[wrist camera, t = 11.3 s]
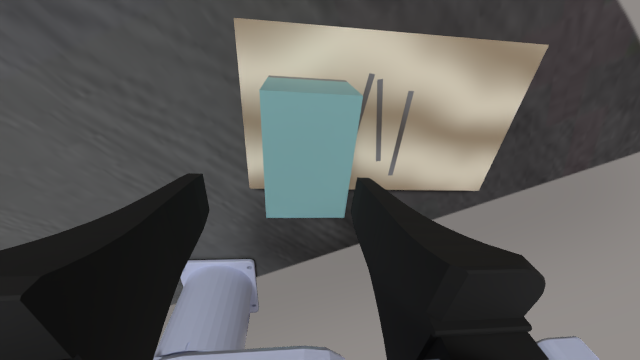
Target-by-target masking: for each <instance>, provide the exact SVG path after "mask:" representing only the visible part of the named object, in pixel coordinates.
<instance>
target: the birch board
mask: <svg viewBox="0 0 640 360" xmlns="http://www.w3.org/2000/svg"><path fill="white" fill-rule="evenodd" d="M234 26H235V36H236V47H237V58H238V69H239V79H240V90H241V101H242V111H243V122H244V133H245V144H246V154H247V165H248V176H249V187H250V188H254V189H265V185H264V166H263V148H262V129H261V111H260V92H259V90H260V88H261V87H262V85H263V84H264V82H265V81H266V79H267V77H268V76H269V75H270V76H286V77H302V78H318V79H334V80H346V81H347V82H348V83H349V84H350V85H351V86H353V87H354V88H355V89H356V90H357V91H358V92H359V93H360V94H362V95H363V100H362V106H361V113H360V119H359V125H358V132H357V138H356V145H355V151H354V158H353V164H352V170H351V177H350V183H349V189H355V186H356V180H357V177H359V178H370V179H372V180H373V181H375V182H376V183H377V184H379V185H380V186H381V187H383V188H384V189H385V190H464V191H479V189H480V187H481V185H482V183H483V181H484V178H485V176H486V174H487V172H488V170H489V168H490V166H491V164H492V162H493V160H494V158H495V156H496V154H497V151H498V149H499V147H500V145H501V143H502V141H503V139H504V137H505V135H506V133H507V131H508V129H509V127H510V124H511V122H512V120H513V118H514V116H515V114H516V112H517V110H518V108H519V106H520V104H521V102H522V100H523V97H524V95H525V93H526V91H527V89H528V87H529V85H530V83H531V81H532V79H533V77H534V75H535V73H536V70H537V68H538V66H539V64H540V62H541V60H542V58H543V56H544V54H545V52H546V50H547V48H548V46H549V45H542V44H531V43H519V42H507V41H496V40H484V39H472V38H461V37H449V36H438V35H426V34H414V33H403V32H391V31H380V30H368V29H356V28H345V27H333V26H321V25H310V24H298V23H287V22H275V21H263V20H252V19H240V18H234Z"/></svg>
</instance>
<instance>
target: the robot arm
mask: <svg viewBox="0 0 640 360" xmlns="http://www.w3.org/2000/svg"><path fill="white" fill-rule="evenodd" d="M208 213H209V205H208V200H207V194H206V189H205V184H204V179H203V174H186V175H184V176H182V177H180V178H178V179H176V180H174V181H173V182H171V183H169V184H167V185H166V186H164V187H162V188H160V189H158V190H157V191H155V192H153V193H151V194H149V195H147V196H145V197H144V198H142V199H140V200H138V201H136V202H134V203H132V204H130V205H128V206H126V207H124V208H122V209H120V210H117V211H115V212H113V213H111V214H108V215H106V216H103V217H101V218H99V219H96V220H94V221H91V222H89V223H86V224H83V225H80V226H77V227H75V228H72V229H69V230H66V231H63V232H61V233H58V234H55V235H52V236H49V237H45V238H42V239H39V240H36V241H32V242H29V243H26V244H22V245H19V246H15V247H12V248H8V249H4V250H1V251H0V360H345V358H344V357H342V356H341V355H340V354H338V353H336V352H334V351H332V350H330V349H328V348H326V347H313V346H290V347H273V348H258V349H244V348H245V341H246V336H247V329H248V323H249V317H250V313H251V312H257V311H258V309H259V304H258V294H257V284H256V274H255V264H254V261H253V260H252V259H227V260H189V258H190V256H191V254H192V252H193V250H194V248H195V246H196V244H197V241H198V239H199V237H200V235H201V233H202V231H203V229H204V226H205V223H206V220H207V217H208ZM351 214H352V219H353V224H354V229H355V232H356V235H357V237H358V240H359V243H360V246H361V249H362V252H363V254H364V257H365V260H366V263H367V266H368V269H369V273H370V276H371V281H372V285H373V289H374V293H375V298H376V303H377V307H378V312H379V317H380V322H381V328H382V333H383V338H384V344H385V350H386V356H387V360H600V359H599V358H598V357H597V356H596V355H595V354H594V353H593V352H592V351H591V350H590V349H589V347H588V346H586V344H585V343H584V342H583V341H582V340H581V339H580V338H579V337H575V336H572V337H556V338H546V339H542V340H540V341H537V342H535V341H534V339H533V338H532V337H531V336H530V334H529V333H528V332H529V331H531V330H532V327H531V325H530V324H529V322H528V321H527V320H526V319H525V317H524V315H525V314H526V313H527V312H528V311H529V310H530V309H531V308H532V306H533V305H534V304H535V303H536V302H537V301H538V299H539V298H540V297H541V295H542V294H543V292H544V288H545V280H544V277H543V276H542V275H541V274H540V273H539V272H538V271H537V270H536V269H535V268H534V267H533V266H532V265H531V264H530V263H529V262H528V261H527V260H526V259H525V258H524V257H523V256H522V255H519V254H516V253H512V252H510V251H506V250H503V249H500V248H497V247H494V246H490V245H488V244H484V243H482V242H480V241H476V240H474V239H471V238H469V237H466V236H464V235H462V234H459V233H457V232H455V231H452V230H450V229H448V228H446V227H444V226H442V225H440V224H438V223H436V222H434V221H432V220H430V219H429V218H427V217H425V216H423V215H421V214H420V213H418V212H416V211H415V210H413V209H412V208H410V207H409V206H407V205H406V204H404V203H403V202H401V201H400V200H399V199H397V198H396V197H394V196H393V195H392V194H390V193H389V192H388V191H387V190H385V189H384V188H383V187H381V186H380V185H379V184H377V183H376V182H375V181H373V180H372V179H370V178H359V177H357V180H356V186H355V191H354V197H353V203H352V208H351ZM180 278H181V281H182V284H183V287H184V288H183V290H182V292H181V295H180V297H179V299H178V301H177V304H176V306H175V309H174V311H173V313H172V315H171V317H170V320H169V322H168V324H167V327H166V329H165V331H164V334H163V336H162V338H161V340H160V343H159V345H158V341H159V338H160V335H161V332H162V328H163V325H164V322H165V319H166V316H167V313H168V310H169V307H170V304H171V301H172V298H173V295H174V293H175V290H176V287H177V284H178V282H179V279H180ZM157 345H158V347H157ZM156 348H157V349H156ZM155 351H156V352H155Z"/></svg>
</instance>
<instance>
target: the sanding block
mask: <svg viewBox="0 0 640 360" xmlns="http://www.w3.org/2000/svg"><path fill="white" fill-rule="evenodd" d="M259 92H260V111H261V129H262V148H263V166H264V185H265V203H266V218H344V215H345V209H346V202H347V196H348V190H349V183H350V177H351V170H352V164H353V158H354V151H355V145H356V138H357V132H358V125H359V119H360V113H361V106H362V100H363V95H362V94H360V93H359V92H358V91H357V90H356V89H355V88H354V87H353V86H351V85H350V84H349V83H348V82H347V81H346V80H334V79H318V78H302V77H286V76H270V75H269V76H268V77H267V79H266V81H265V82H264V84H263V85H262V87H261V88H260V90H259Z"/></svg>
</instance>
